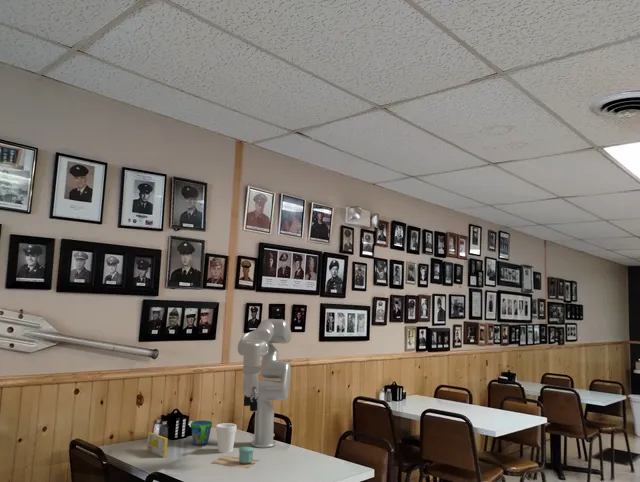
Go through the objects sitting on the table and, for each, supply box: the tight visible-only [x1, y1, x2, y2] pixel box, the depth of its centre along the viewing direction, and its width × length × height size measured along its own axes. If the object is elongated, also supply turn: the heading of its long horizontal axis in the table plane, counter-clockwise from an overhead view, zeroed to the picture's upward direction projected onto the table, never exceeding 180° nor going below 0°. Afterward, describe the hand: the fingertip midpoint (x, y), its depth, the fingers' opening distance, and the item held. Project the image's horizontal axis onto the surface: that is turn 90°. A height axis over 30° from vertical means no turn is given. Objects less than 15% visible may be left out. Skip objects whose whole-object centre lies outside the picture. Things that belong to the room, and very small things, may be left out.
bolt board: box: [210, 455, 261, 469], centre depth 230 cm, size 12×18×6 cm, turn 73°
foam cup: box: [215, 422, 238, 454], centre depth 247 cm, size 10×9×13 cm
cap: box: [238, 446, 254, 463], centre depth 229 cm, size 6×6×5 cm
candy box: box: [146, 431, 169, 458], centre depth 245 cm, size 16×2×8 cm, turn 45°
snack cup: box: [190, 420, 213, 446], centre depth 264 cm, size 16×10×10 cm
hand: (250, 408), depth 237 cm, fingers open, 9 cm apart
